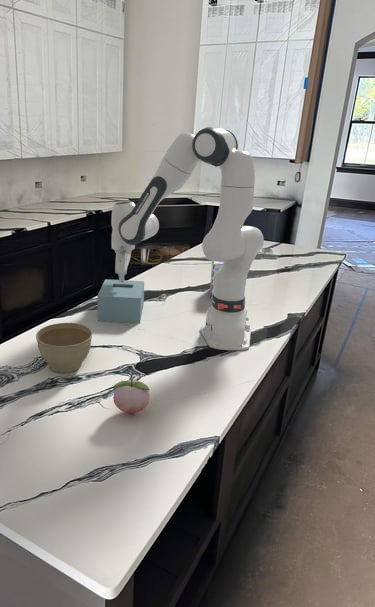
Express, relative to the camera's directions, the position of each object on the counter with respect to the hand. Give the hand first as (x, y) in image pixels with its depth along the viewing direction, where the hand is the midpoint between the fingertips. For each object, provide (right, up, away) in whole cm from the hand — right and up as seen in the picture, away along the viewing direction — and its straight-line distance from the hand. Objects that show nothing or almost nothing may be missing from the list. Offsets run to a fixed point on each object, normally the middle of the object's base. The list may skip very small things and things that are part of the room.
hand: (123, 278), depth 179 cm
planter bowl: (-12, -29, -40) cm, 51 cm away
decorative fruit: (+11, -38, -61) cm, 73 cm away
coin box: (-1, -13, +2) cm, 14 cm away
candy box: (+39, -6, +28) cm, 48 cm away
